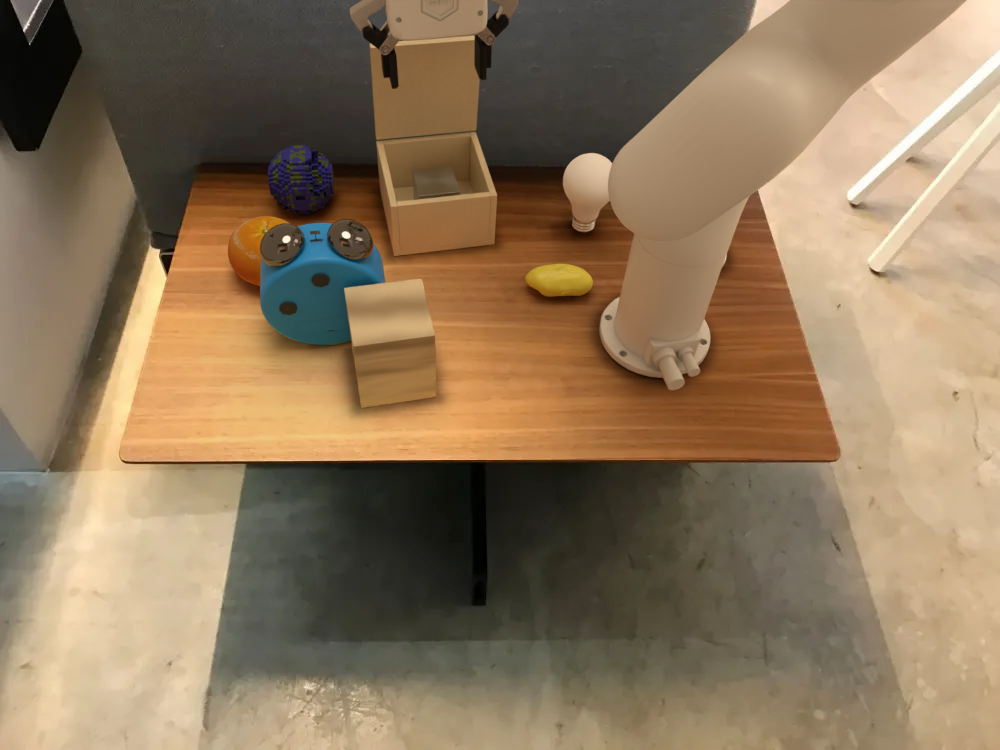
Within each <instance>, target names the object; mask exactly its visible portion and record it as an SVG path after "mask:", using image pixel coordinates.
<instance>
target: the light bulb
mask: <svg viewBox="0 0 1000 750" xmlns="http://www.w3.org/2000/svg"><path fill="white" fill-rule="evenodd" d="M612 163H613V162H612V161H611V160H610V159H608V158H607V157H606V156H604V155H602V154H600V153H595V152H588V153H583V154H580V155H578V156H577V157H575V158H574V159H572V160H571V161H570V162H569V164H568V165H567V166H566V168H565V169H564V172H563V176H562V187H563V190H564V191H563V192H564V194H565V196H566V197H567V199H568V201H569V202H570V205H571V213H572V219H571V227H572V229H574V230H575V231H577V232H579V233H590V232H591V231H593V230H594V229H595V227H596V222H597V218H598V217H599V214H600V212H601V210H602V209H603V208H604V207H605V206H606V205H607V204H608V203H609V202H610V199H609V193H608V178H609V173H610V169H611V166H612Z"/></svg>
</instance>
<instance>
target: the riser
mask: <svg viewBox="0 0 1000 750" xmlns="http://www.w3.org/2000/svg"><path fill="white" fill-rule="evenodd" d="M423 282H424V281H423V278H422V277H421V278H412V279H405V280H397V281H388V282H385V283H380V284H372V285H364V286H356V287H348V288H344V292H345V300H346V307H347V315H348V322H349V329H350V337H351V341H350V343H351V344H350V345H351V352H352V357H353V363H354V371H355V377H356V384H357V389H358V396H359V402H360V408H361V409H364V408H365V409H366V408H372V407H377V406H384V405H392V404H398V403H399V404H400V403H407V402H412V401H418V400H425V399H431V398H432V399H433V398H437V367H436V365H437V362H436V361H437V360H436V359H437V358H436V333H435V328H434V325H433V320H432V317H431V312H430V308H429V304H428V299H427V295H426V291H425V287H424V283H423Z"/></svg>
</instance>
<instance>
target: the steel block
mask: <svg viewBox="0 0 1000 750" xmlns="http://www.w3.org/2000/svg"><path fill="white" fill-rule="evenodd" d="M413 192H414V200H418V199H427V198H436V197H445V196H455V195H460V191H459V187H458V184H457V181H456V177H455V174H454V171H453V167H452V166H451V167H442V168H432V169H422V170H413Z"/></svg>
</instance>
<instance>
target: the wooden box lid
mask: <svg viewBox="0 0 1000 750" xmlns="http://www.w3.org/2000/svg"><path fill="white" fill-rule="evenodd" d="M474 46H475V35H469V36H461V37H451V38H440V39H428V40H416V41H402V40H399V42H398V43H397V44H396V46H395V47H394V48H395V52H396V56H397V69H398V83H399V87H397V89H392V86H391V82H390V79H389V78H384V76H383V71H382V61H381V53H380V50H379V49H377V48H376V47H375V46H374V45H372V44H371V43H370V42H369V56H370V71H371V72H370V73H371V87H372V103H373V104H372V105H373V118H374V119H373V120H374V131H375V132H374V133H375V139H376V141H381V140H392V139H402V138H413V137H423V136H434V135H444V134H455V133H465V132H476V131H477V125H478V110H479V109H478V108H479V94H480V82H481V79H479V77H478V74H477V71H476V69H475V65H474Z"/></svg>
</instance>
